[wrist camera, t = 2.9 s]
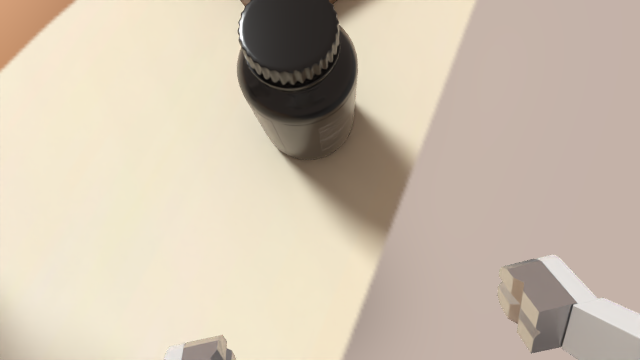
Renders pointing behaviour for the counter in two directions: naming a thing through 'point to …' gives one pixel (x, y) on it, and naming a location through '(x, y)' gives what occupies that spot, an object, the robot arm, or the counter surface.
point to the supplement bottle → (298, 74)
